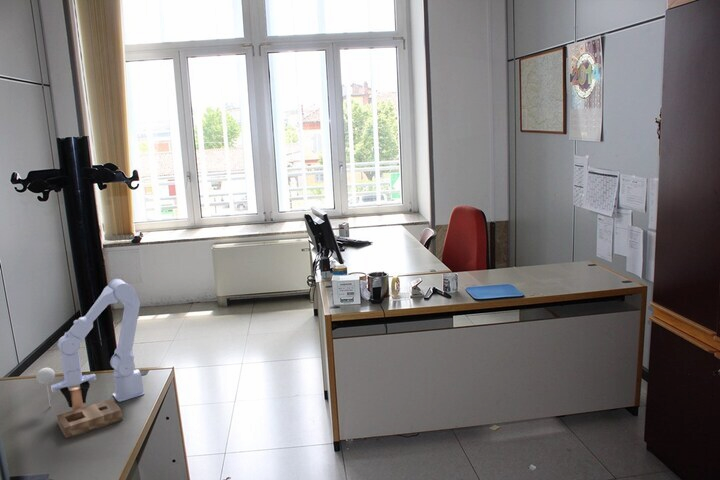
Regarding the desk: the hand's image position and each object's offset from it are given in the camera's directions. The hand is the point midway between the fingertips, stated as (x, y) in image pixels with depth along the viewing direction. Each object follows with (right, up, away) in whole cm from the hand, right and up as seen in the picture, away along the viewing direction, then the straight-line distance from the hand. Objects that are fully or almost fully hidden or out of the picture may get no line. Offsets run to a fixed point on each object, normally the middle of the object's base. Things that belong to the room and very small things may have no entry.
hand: (77, 404), depth 214 cm
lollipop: (-12, -2, +4) cm, 12 cm away
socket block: (+9, -4, -9) cm, 13 cm away
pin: (0, -2, 0) cm, 2 cm away
